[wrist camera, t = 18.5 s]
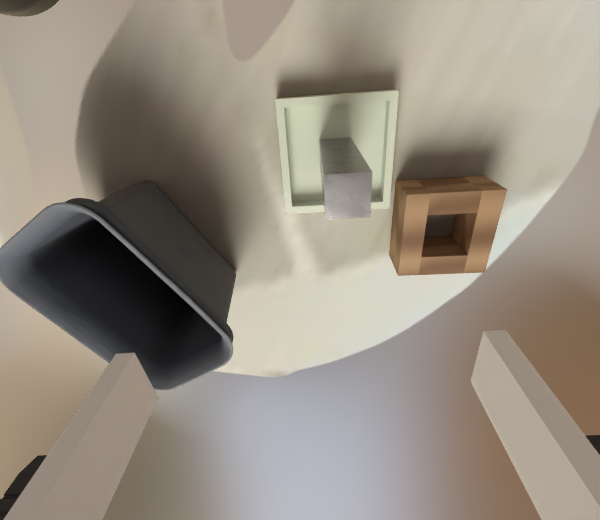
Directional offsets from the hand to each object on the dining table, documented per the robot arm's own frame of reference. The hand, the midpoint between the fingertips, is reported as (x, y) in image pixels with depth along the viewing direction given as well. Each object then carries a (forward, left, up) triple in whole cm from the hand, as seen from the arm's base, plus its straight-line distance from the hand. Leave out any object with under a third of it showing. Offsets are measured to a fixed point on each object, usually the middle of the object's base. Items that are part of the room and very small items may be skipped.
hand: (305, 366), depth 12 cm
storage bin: (+9, -19, -29) cm, 36 cm away
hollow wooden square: (+7, +15, -28) cm, 33 cm away
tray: (-2, +3, -28) cm, 29 cm away
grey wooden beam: (-2, +3, -28) cm, 28 cm away
